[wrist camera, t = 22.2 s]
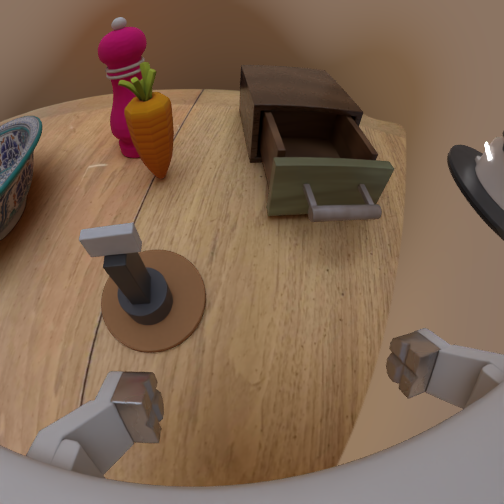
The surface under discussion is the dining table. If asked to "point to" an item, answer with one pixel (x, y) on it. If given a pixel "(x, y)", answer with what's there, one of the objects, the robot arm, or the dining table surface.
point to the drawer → (320, 166)
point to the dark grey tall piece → (130, 272)
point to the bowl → (16, 167)
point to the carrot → (150, 122)
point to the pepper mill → (122, 75)
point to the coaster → (182, 312)
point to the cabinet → (288, 97)
